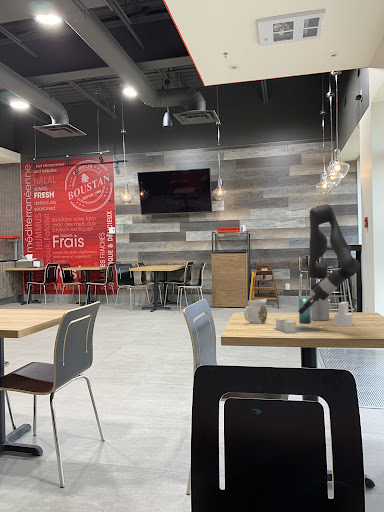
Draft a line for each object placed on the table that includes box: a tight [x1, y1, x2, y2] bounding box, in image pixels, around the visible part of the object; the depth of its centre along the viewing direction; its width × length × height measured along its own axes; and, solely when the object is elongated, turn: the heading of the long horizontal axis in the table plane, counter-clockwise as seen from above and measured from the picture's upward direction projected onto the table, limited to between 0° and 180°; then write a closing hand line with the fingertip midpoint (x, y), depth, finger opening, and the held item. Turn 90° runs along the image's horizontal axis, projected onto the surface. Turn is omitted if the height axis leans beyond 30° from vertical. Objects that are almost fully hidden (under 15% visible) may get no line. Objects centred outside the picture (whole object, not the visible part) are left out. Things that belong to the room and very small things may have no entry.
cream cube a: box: [284, 320, 297, 334], centre depth 205 cm, size 4×4×5 cm
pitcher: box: [243, 298, 268, 325], centre depth 233 cm, size 11×18×14 cm, turn 131°
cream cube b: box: [275, 317, 288, 331], centre depth 213 cm, size 4×4×5 cm
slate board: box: [272, 325, 321, 335], centre depth 211 cm, size 19×14×2 cm
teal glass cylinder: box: [298, 297, 312, 325], centre depth 212 cm, size 6×6×12 cm
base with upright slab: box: [334, 301, 353, 327], centre depth 230 cm, size 9×9×12 cm
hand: (301, 311), depth 213 cm, fingers closed on teal glass cylinder, 5 cm apart
